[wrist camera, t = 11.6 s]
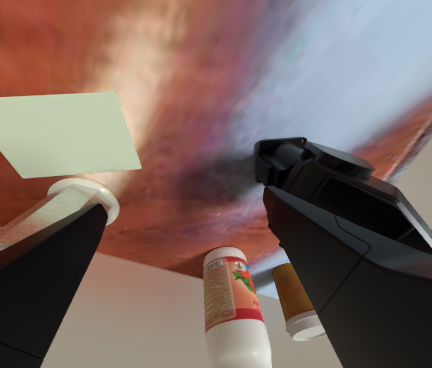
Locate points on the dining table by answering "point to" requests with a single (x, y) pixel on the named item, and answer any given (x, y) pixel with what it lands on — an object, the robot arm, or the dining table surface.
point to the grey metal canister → (51, 212)
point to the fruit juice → (233, 313)
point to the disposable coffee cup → (296, 305)
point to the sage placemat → (66, 134)
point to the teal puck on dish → (91, 184)
